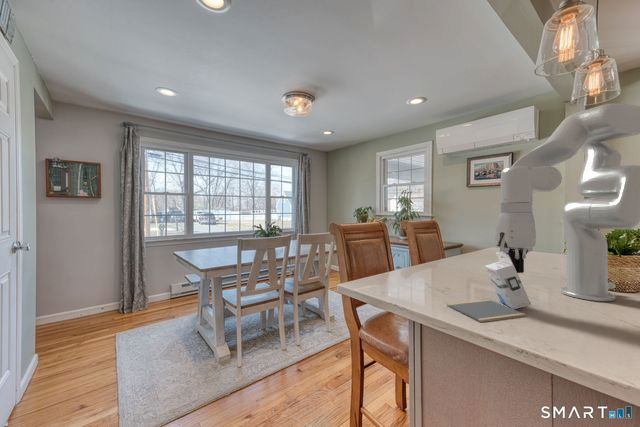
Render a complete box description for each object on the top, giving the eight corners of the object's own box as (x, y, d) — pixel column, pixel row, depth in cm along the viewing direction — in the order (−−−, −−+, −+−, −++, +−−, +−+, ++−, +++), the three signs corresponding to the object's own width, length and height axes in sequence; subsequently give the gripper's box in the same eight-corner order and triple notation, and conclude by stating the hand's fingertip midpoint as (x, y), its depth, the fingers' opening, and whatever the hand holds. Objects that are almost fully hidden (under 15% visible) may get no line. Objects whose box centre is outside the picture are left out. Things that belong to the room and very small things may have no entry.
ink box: (499, 301, 83) (479, 256, 85) (516, 297, 82) (495, 251, 84) (513, 310, 75) (491, 259, 76) (532, 304, 74) (509, 253, 76)
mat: (488, 301, 83) (488, 299, 83) (526, 316, 72) (526, 314, 72) (447, 306, 80) (447, 304, 80) (479, 322, 68) (479, 320, 68)
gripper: (524, 209, 83) (524, 267, 84) (484, 209, 80) (484, 270, 80) (549, 209, 76) (549, 273, 76) (507, 209, 73) (507, 276, 73)
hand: (516, 271), depth 78 cm, fingers closed
